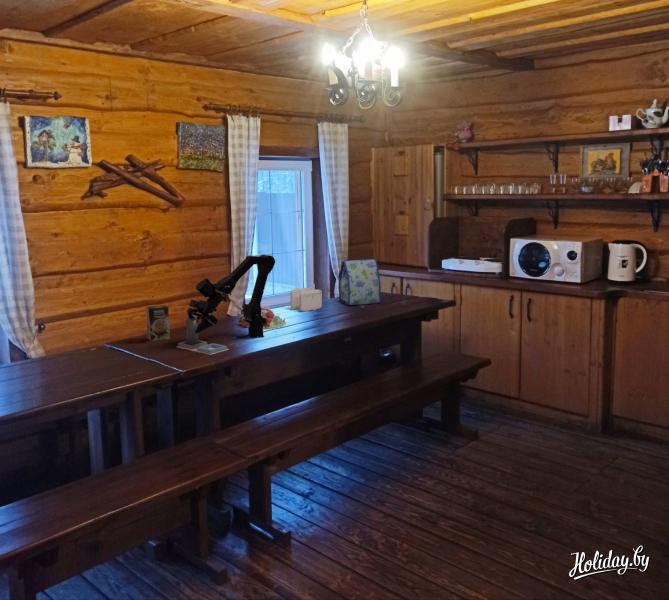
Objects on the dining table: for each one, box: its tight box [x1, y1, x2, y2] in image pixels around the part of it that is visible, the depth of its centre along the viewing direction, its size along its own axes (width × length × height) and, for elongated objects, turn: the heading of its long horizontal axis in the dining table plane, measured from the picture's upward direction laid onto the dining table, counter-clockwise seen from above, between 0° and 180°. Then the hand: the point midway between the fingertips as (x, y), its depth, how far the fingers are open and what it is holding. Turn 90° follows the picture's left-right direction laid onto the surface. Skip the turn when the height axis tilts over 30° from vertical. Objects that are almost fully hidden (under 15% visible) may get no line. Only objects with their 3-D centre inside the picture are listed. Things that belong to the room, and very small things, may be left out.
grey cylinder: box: [185, 318, 199, 345], centre depth 301 cm, size 5×5×12 cm
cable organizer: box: [289, 287, 323, 313], centre depth 384 cm, size 15×11×12 cm
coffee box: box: [145, 304, 171, 342], centre depth 316 cm, size 9×6×16 cm
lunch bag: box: [338, 258, 382, 306], centre depth 401 cm, size 22×17×26 cm
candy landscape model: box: [237, 305, 286, 330], centre depth 350 cm, size 25×24×9 cm
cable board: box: [175, 339, 230, 357], centre depth 298 cm, size 23×11×2 cm, turn 52°
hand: (190, 331), depth 300 cm, fingers open, 9 cm apart
